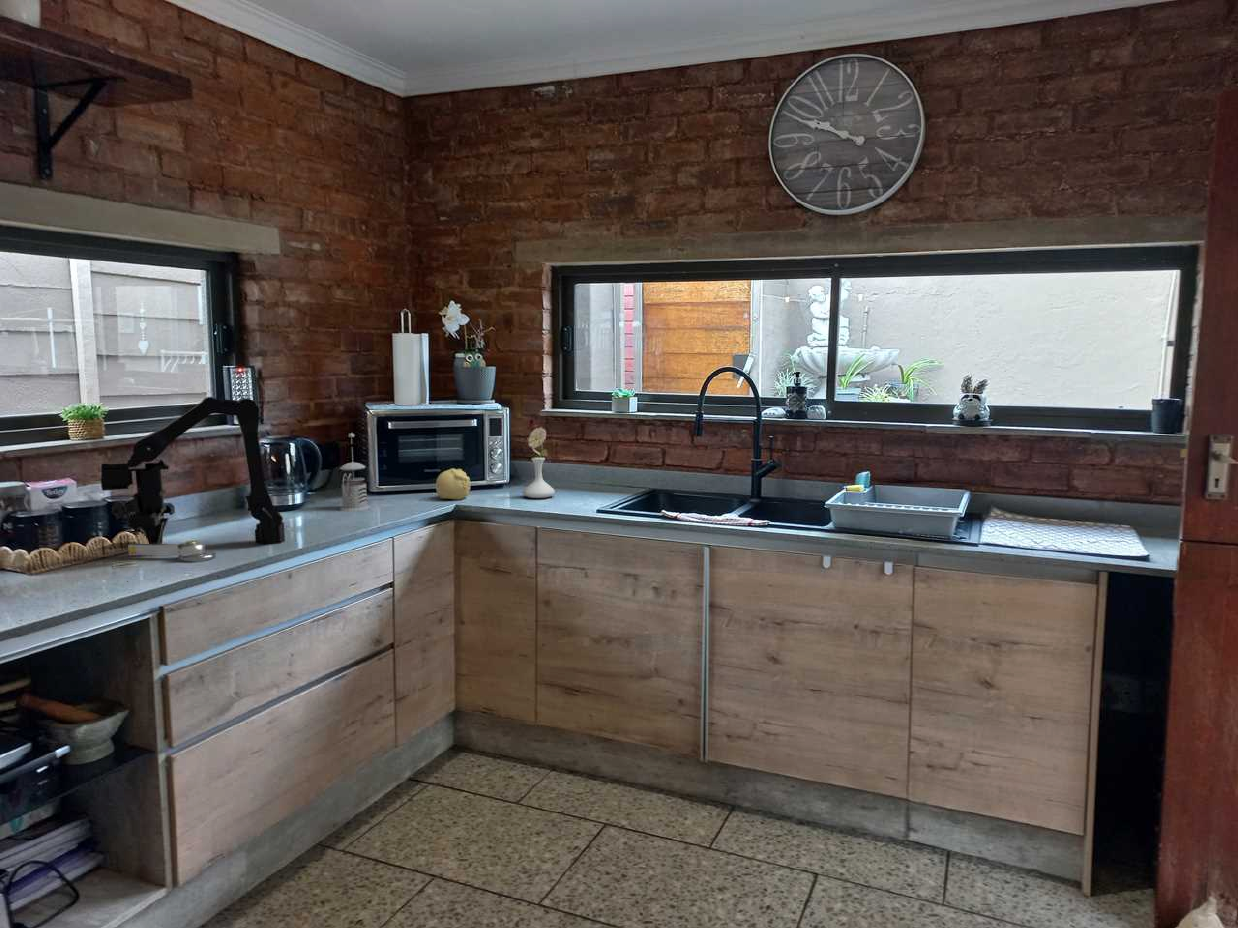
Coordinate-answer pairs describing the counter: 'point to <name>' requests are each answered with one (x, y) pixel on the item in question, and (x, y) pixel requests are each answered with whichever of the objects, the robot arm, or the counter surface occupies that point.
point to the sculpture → (453, 484)
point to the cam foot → (175, 551)
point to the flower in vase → (538, 468)
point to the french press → (353, 488)
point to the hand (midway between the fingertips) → (154, 548)
